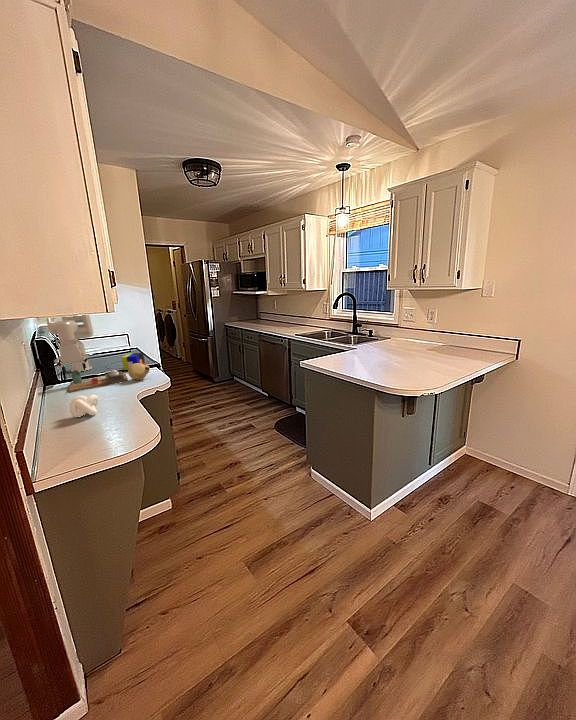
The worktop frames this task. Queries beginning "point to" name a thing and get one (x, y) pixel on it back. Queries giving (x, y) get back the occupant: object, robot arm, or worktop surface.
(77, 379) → the pawn
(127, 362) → the puzzle toy
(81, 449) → the worktop surface
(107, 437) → the worktop surface
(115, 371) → the dome
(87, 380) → the game board
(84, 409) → the white knot
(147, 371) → the toy pig
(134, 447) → the worktop surface
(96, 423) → the worktop surface
